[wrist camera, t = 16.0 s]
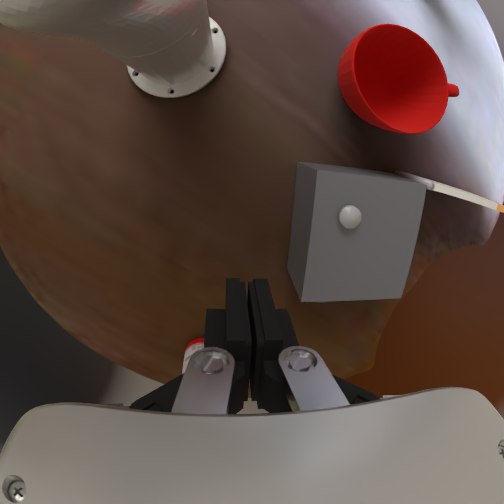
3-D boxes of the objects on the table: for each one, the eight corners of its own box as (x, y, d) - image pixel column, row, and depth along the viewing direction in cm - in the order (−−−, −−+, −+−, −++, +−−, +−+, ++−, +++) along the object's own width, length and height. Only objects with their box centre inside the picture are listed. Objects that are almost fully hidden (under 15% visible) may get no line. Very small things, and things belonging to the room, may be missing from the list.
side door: (392, 177, 37) (426, 189, 30) (394, 169, 37) (428, 179, 29) (482, 203, 40) (513, 217, 32) (483, 196, 40) (515, 210, 32)
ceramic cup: (427, 135, 36) (472, 141, 26) (325, 131, 35) (357, 131, 26) (420, 55, 31) (462, 44, 21) (316, 39, 30) (343, 14, 21)
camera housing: (297, 161, 36) (319, 171, 27) (390, 172, 38) (430, 186, 29) (285, 277, 43) (300, 316, 34) (371, 277, 44) (400, 310, 35)
